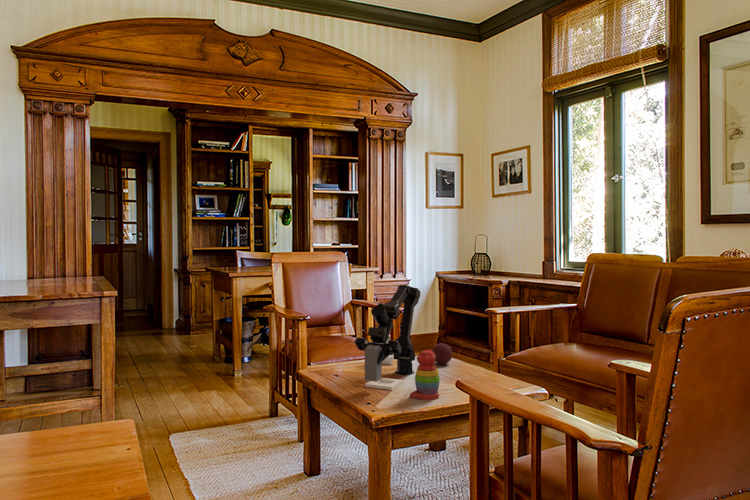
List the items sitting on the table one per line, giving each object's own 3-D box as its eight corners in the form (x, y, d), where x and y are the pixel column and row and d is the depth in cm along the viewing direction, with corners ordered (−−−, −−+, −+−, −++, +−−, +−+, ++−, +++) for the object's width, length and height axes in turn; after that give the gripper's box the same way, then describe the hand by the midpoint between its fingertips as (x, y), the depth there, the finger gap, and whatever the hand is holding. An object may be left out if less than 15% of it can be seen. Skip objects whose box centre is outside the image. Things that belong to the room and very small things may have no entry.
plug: (364, 380, 214) (364, 346, 214) (370, 377, 219) (370, 344, 218) (376, 381, 212) (376, 347, 212) (381, 378, 217) (381, 345, 216)
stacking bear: (423, 391, 216) (423, 346, 216) (445, 395, 210) (445, 349, 209) (407, 397, 208) (407, 350, 208) (429, 402, 201) (429, 354, 201)
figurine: (391, 360, 271) (391, 330, 271) (395, 365, 261) (395, 333, 261) (377, 361, 270) (377, 330, 270) (380, 365, 260) (380, 334, 260)
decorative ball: (453, 366, 258) (453, 345, 258) (432, 366, 258) (432, 345, 258) (450, 361, 268) (451, 341, 268) (430, 361, 268) (430, 341, 268)
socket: (365, 386, 223) (365, 383, 223) (377, 379, 234) (377, 377, 234) (392, 390, 218) (392, 387, 218) (403, 382, 229) (403, 380, 228)
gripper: (356, 317, 222) (343, 349, 213) (398, 320, 215) (387, 353, 205) (365, 333, 230) (353, 365, 220) (406, 337, 222) (395, 370, 212)
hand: (371, 363), depth 214 cm, fingers closed on plug, 5 cm apart
